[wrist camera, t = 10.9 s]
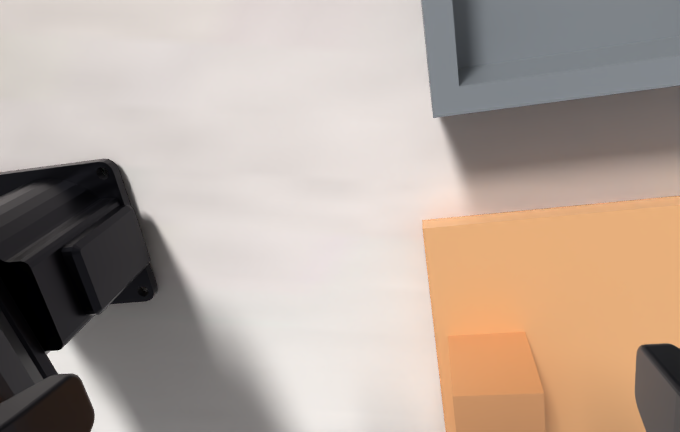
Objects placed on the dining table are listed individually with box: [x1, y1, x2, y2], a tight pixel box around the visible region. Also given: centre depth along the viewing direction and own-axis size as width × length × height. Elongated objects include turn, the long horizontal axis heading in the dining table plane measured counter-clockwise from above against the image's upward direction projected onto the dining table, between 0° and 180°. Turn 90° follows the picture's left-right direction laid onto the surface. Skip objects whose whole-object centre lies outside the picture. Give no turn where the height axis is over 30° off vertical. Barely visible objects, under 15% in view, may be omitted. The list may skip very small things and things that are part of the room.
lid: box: [422, 196, 680, 432], centre depth 20 cm, size 15×15×5 cm
